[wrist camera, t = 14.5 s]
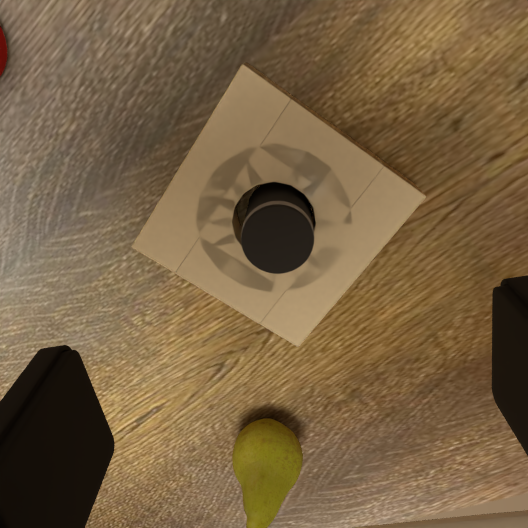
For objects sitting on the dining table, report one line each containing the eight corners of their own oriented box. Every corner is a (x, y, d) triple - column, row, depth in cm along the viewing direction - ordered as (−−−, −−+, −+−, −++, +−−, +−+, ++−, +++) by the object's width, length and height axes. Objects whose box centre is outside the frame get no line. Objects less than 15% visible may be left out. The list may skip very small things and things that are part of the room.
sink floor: (142, 231, 36) (130, 247, 34) (245, 61, 31) (242, 63, 28) (297, 326, 39) (298, 347, 36) (415, 184, 34) (427, 196, 31)
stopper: (235, 217, 36) (226, 249, 30) (270, 166, 34) (267, 191, 28) (286, 250, 36) (286, 287, 31) (322, 202, 35) (329, 232, 29)
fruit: (314, 434, 44) (323, 566, 33) (260, 462, 45) (253, 596, 34) (276, 391, 42) (273, 515, 31) (222, 421, 43) (201, 549, 32)
